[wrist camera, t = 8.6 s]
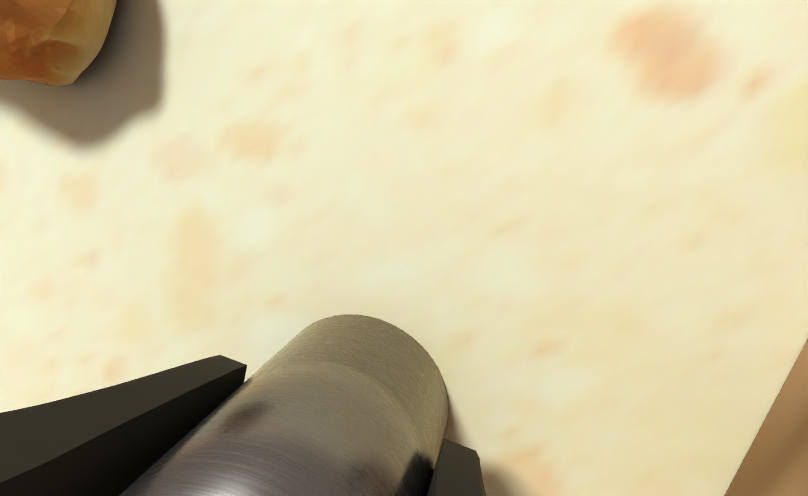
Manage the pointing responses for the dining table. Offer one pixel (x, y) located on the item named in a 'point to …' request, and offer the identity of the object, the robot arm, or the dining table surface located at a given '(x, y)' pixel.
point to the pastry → (51, 38)
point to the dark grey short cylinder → (318, 422)
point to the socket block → (780, 443)
